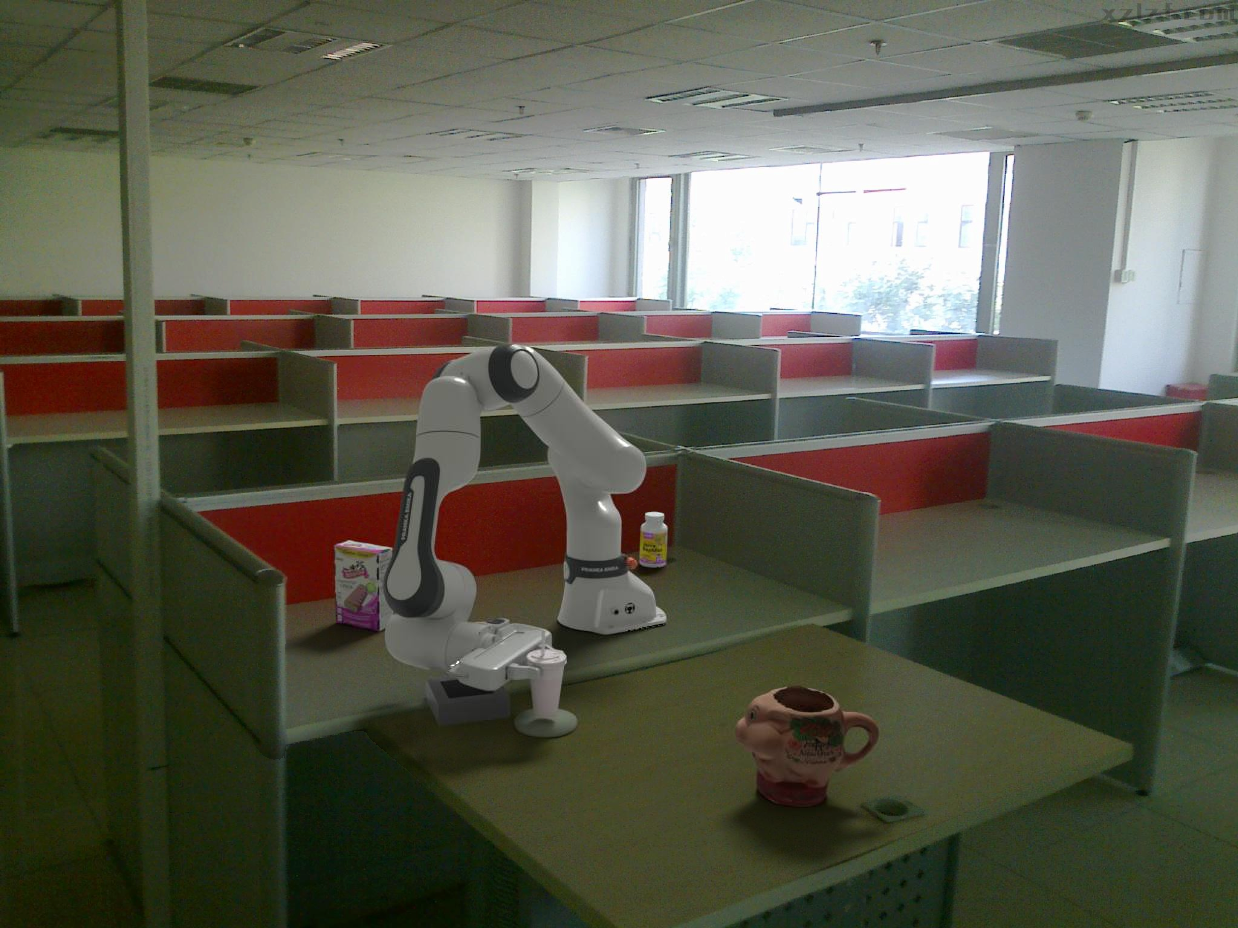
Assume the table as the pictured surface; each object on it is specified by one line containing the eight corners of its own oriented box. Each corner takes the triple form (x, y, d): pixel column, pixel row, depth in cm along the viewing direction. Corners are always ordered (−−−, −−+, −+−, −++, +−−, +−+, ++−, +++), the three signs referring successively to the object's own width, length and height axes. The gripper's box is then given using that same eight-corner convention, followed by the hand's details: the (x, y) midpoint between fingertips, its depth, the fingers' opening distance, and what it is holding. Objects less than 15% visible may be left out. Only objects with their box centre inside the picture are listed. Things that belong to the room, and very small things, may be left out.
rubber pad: (566, 707, 176) (566, 704, 176) (585, 732, 167) (585, 729, 167) (507, 715, 173) (507, 711, 173) (523, 740, 164) (523, 737, 164)
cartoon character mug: (859, 770, 157) (866, 681, 154) (885, 812, 145) (893, 716, 143) (725, 771, 156) (729, 681, 153) (740, 813, 144) (745, 716, 141)
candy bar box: (334, 623, 214) (332, 544, 211) (350, 616, 219) (348, 539, 216) (379, 632, 210) (378, 552, 207) (394, 625, 214) (393, 546, 211)
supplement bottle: (637, 567, 261) (638, 516, 258) (641, 560, 267) (642, 510, 265) (664, 569, 260) (666, 517, 257) (667, 562, 266) (669, 511, 264)
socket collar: (492, 690, 183) (493, 670, 182) (509, 716, 172) (509, 696, 172) (425, 697, 179) (425, 678, 178) (438, 725, 168) (438, 704, 168)
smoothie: (525, 705, 173) (526, 623, 170) (565, 705, 173) (566, 623, 171) (525, 722, 166) (526, 636, 164) (566, 721, 167) (568, 636, 164)
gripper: (440, 652, 163) (520, 668, 158) (506, 614, 182) (579, 627, 176) (440, 691, 164) (519, 708, 159) (505, 649, 183) (578, 663, 178)
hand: (551, 665), depth 168 cm, fingers closed on smoothie, 6 cm apart
